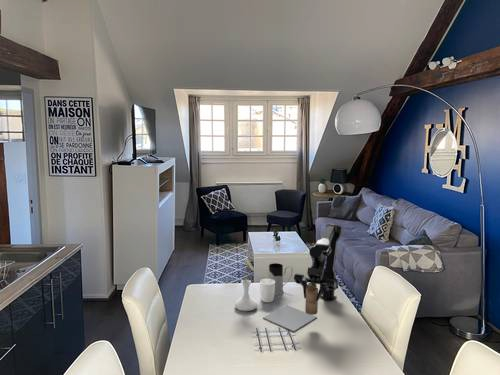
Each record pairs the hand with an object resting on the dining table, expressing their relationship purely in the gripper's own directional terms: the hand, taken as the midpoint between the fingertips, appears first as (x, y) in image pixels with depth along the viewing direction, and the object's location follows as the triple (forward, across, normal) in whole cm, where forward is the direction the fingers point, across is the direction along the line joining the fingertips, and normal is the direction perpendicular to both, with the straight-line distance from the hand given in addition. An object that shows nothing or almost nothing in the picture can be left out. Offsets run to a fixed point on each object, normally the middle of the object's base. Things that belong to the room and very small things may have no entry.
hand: (310, 299), depth 171 cm
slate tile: (+7, -11, +12) cm, 18 cm away
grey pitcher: (-12, -26, +32) cm, 43 cm away
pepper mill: (+4, 0, +6) cm, 7 cm away
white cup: (-3, -28, +22) cm, 36 cm away
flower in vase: (+6, -35, +13) cm, 38 cm away
